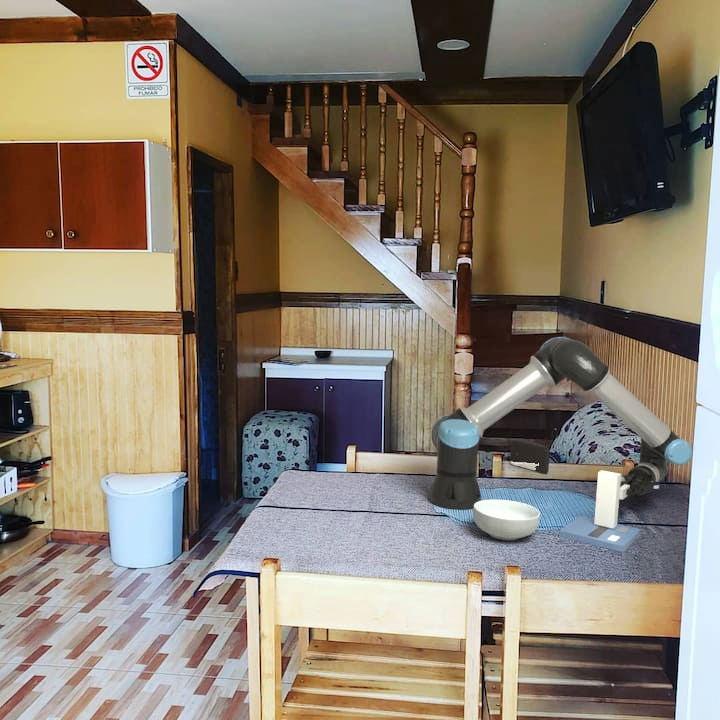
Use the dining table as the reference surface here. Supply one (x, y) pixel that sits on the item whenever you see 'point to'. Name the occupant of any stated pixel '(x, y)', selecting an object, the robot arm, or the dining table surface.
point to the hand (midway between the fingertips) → (620, 494)
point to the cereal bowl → (506, 518)
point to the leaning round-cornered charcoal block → (530, 454)
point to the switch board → (600, 534)
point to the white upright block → (607, 499)
